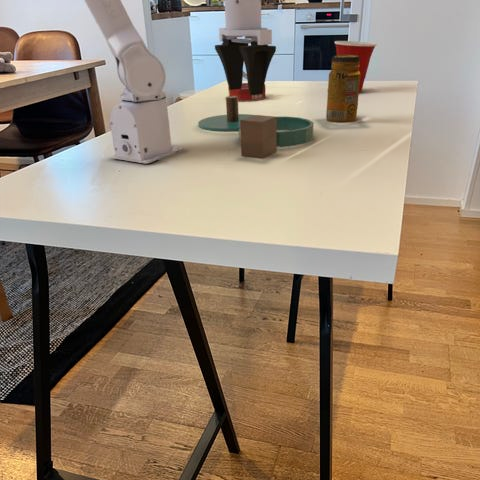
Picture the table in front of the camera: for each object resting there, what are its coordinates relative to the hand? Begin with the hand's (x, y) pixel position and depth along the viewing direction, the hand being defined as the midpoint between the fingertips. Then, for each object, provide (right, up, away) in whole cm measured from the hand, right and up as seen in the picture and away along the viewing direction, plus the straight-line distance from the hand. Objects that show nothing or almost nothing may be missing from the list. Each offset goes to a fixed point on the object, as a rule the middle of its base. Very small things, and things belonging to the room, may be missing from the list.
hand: (245, 91), depth 82 cm
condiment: (+20, +1, +15) cm, 25 cm away
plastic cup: (+29, +22, +48) cm, 60 cm away
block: (+2, -13, -4) cm, 13 cm away
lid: (-2, +1, +16) cm, 16 cm away
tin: (+6, -6, +5) cm, 10 cm away
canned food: (+1, +20, +45) cm, 50 cm away
